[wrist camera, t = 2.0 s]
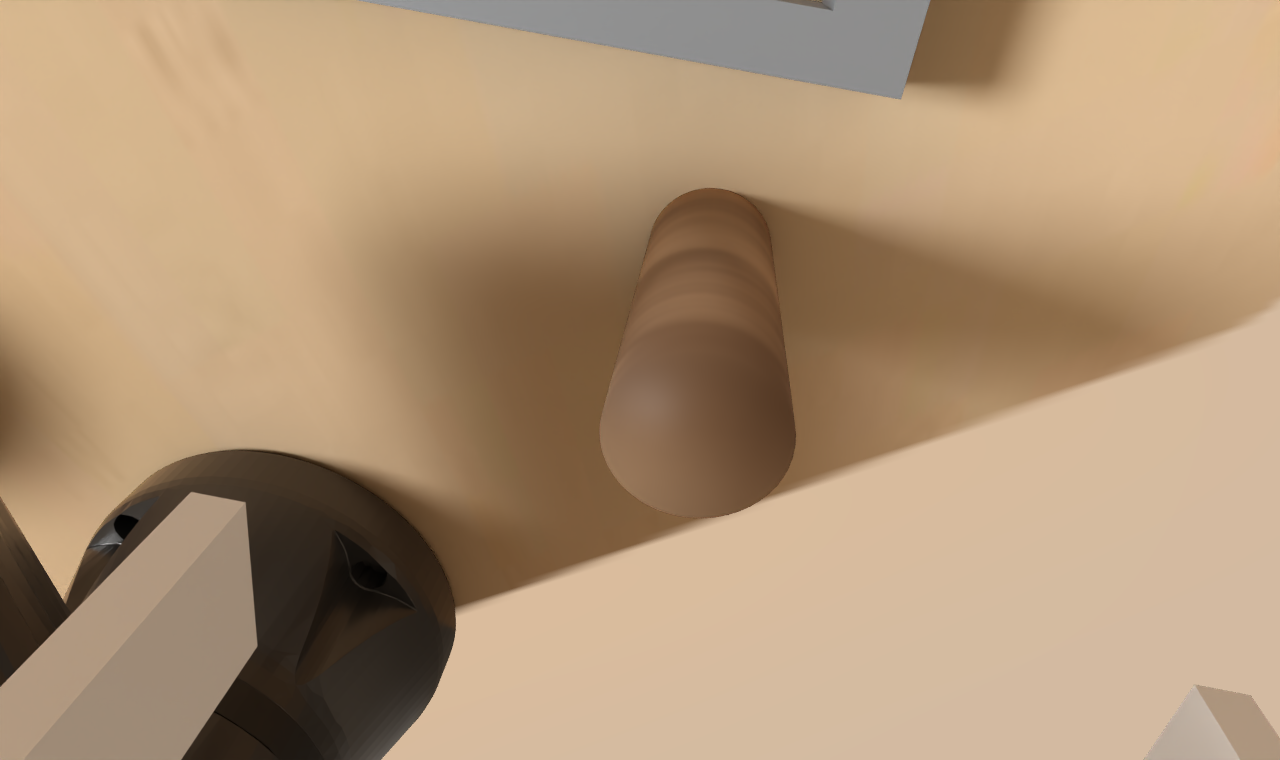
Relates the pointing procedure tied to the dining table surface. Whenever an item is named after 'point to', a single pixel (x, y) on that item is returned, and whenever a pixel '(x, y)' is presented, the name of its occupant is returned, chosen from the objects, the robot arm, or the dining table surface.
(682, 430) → the walnut peg
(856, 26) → the socket block
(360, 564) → the robot arm
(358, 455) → the dining table surface
